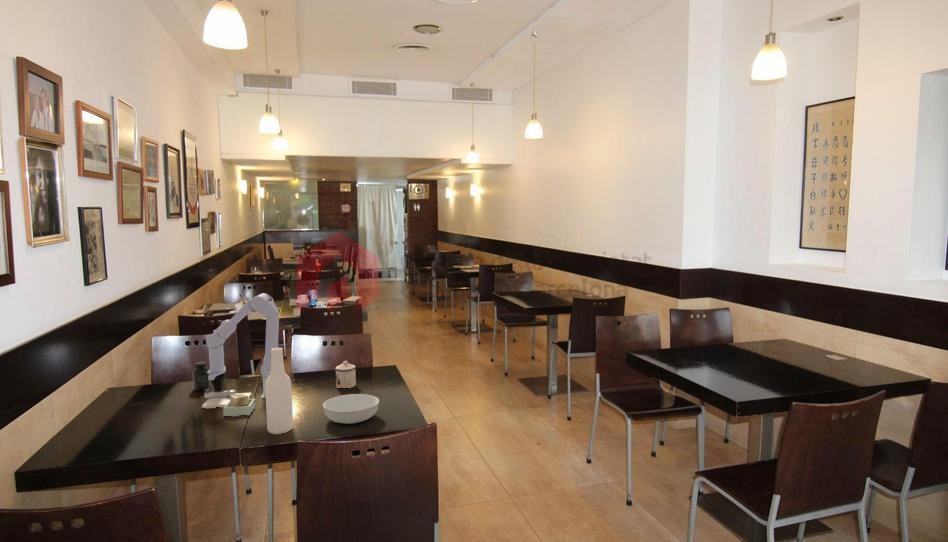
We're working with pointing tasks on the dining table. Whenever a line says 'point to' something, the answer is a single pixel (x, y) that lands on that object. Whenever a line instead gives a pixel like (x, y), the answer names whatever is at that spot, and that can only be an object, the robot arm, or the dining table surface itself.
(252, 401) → the tray
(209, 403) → the crank board
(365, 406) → the serving bowl
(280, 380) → the alcohol
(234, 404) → the block
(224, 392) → the crank arm
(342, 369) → the teacup with lid
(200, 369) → the supplement bottle
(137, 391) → the dining table surface
